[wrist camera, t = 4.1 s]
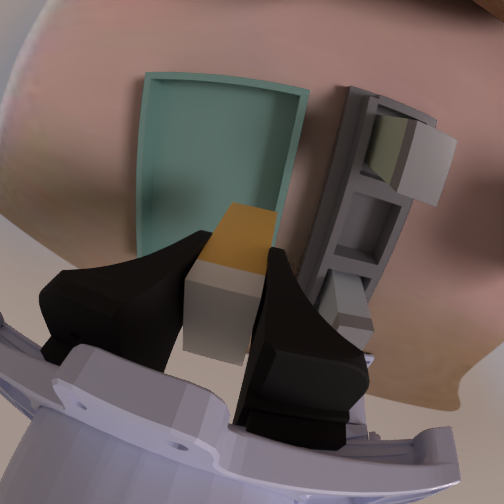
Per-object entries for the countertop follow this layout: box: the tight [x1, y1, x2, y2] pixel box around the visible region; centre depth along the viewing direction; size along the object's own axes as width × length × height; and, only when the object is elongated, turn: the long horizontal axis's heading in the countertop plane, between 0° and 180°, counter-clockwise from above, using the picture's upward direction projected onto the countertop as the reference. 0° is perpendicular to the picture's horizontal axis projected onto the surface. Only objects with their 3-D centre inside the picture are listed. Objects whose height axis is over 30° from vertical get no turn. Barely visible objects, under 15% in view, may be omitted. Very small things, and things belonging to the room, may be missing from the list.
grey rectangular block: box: [318, 269, 374, 350], centre depth 20 cm, size 4×2×7 cm, turn 170°
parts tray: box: [136, 72, 310, 258], centre depth 20 cm, size 16×11×2 cm
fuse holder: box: [296, 86, 437, 311], centre depth 19 cm, size 18×7×3 cm, turn 170°
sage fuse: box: [365, 115, 458, 207], centre depth 13 cm, size 4×2×7 cm, turn 170°
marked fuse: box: [183, 202, 278, 366], centre depth 12 cm, size 4×2×7 cm, turn 169°
